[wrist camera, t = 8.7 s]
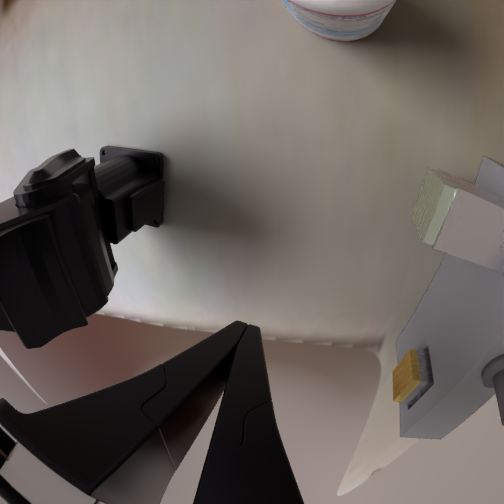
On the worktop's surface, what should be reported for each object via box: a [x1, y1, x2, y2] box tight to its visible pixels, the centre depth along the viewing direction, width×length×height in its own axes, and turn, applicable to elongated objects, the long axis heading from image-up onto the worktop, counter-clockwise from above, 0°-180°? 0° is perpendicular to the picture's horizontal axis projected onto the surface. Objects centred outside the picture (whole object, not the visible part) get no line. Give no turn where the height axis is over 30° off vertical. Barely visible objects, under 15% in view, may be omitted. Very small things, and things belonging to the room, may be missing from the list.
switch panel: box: [396, 156, 504, 439], centre depth 14 cm, size 4×18×14 cm, turn 172°
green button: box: [411, 168, 504, 274], centre depth 11 cm, size 8×3×3 cm, turn 82°
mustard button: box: [393, 349, 434, 406], centre depth 17 cm, size 8×3×3 cm, turn 82°
